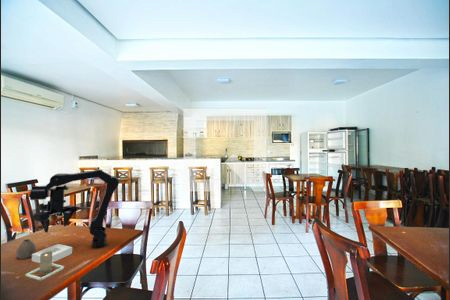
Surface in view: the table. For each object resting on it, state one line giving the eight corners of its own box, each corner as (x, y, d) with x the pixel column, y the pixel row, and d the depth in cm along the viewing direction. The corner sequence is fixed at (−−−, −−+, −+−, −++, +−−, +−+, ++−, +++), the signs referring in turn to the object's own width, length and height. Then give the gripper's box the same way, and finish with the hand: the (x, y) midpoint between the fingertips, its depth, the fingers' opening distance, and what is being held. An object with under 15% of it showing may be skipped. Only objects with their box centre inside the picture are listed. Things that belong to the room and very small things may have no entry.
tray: (50, 265, 102) (50, 262, 102) (64, 269, 99) (64, 266, 99) (25, 277, 92) (25, 274, 92) (40, 282, 89) (40, 278, 89)
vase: (36, 258, 108) (37, 240, 108) (17, 263, 103) (17, 244, 103) (34, 253, 112) (34, 236, 112) (15, 257, 107) (16, 239, 107)
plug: (47, 268, 98) (47, 250, 98) (53, 270, 97) (54, 252, 97) (37, 273, 94) (38, 255, 94) (44, 275, 93) (44, 256, 93)
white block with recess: (57, 251, 115) (57, 243, 115) (72, 254, 112) (72, 247, 112) (31, 262, 104) (31, 254, 104) (47, 266, 101) (47, 258, 101)
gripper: (63, 193, 124) (62, 221, 124) (25, 200, 106) (23, 233, 106) (78, 195, 121) (77, 224, 121) (41, 203, 103) (40, 236, 103)
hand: (55, 229), depth 113 cm, fingers open, 9 cm apart
